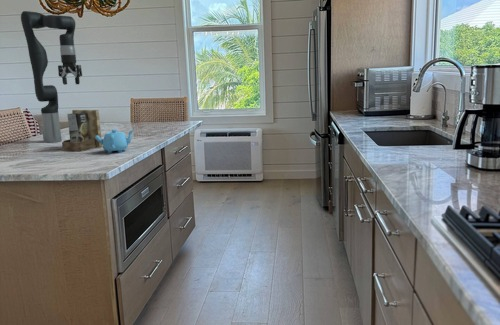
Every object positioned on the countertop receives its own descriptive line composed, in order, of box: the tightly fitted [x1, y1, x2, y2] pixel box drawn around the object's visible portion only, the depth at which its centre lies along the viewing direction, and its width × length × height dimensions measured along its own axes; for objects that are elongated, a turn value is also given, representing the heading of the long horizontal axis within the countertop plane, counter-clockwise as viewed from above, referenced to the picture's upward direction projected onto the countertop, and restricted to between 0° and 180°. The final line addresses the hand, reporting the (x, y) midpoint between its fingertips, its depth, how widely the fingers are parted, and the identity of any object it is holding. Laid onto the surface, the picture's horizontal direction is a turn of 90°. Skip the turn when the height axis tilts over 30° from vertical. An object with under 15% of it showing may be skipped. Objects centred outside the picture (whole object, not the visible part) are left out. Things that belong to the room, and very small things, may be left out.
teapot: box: [95, 129, 135, 154], centre depth 221 cm, size 15×14×11 cm
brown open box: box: [61, 138, 98, 152], centre depth 233 cm, size 12×12×5 cm
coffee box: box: [66, 112, 90, 143], centre depth 232 cm, size 9×6×16 cm
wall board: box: [71, 109, 103, 148], centre depth 237 cm, size 16×2×20 cm, turn 69°
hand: (71, 84), depth 241 cm, fingers open, 8 cm apart
